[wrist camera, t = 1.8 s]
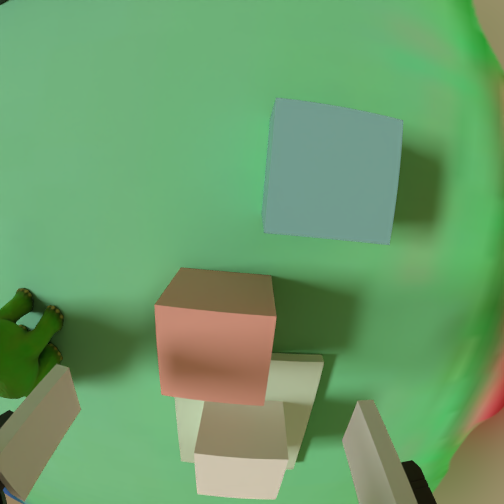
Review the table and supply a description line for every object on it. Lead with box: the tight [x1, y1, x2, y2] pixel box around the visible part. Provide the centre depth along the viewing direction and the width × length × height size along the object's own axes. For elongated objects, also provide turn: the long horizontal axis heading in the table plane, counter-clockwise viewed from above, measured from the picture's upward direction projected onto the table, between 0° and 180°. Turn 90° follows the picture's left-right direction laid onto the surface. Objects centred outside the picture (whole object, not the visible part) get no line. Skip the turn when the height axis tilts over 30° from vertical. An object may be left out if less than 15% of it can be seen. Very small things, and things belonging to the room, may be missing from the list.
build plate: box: [175, 353, 324, 499], centre depth 20 cm, size 14×11×7 cm
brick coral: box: [155, 268, 277, 406], centre depth 18 cm, size 6×6×6 cm
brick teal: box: [262, 98, 403, 245], centre depth 16 cm, size 6×6×6 cm
